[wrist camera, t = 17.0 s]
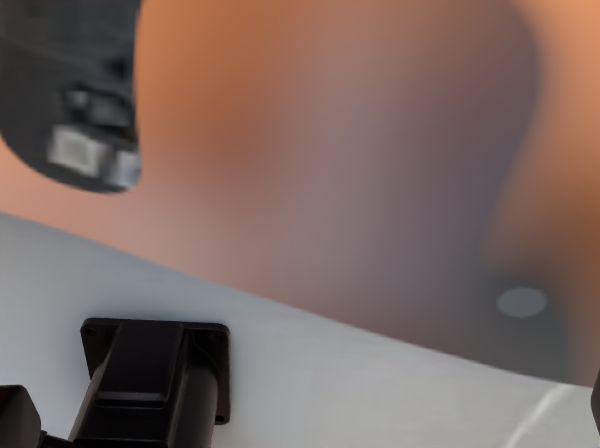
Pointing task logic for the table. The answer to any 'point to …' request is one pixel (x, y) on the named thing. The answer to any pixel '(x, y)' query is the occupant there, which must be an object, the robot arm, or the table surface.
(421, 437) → the table surface
